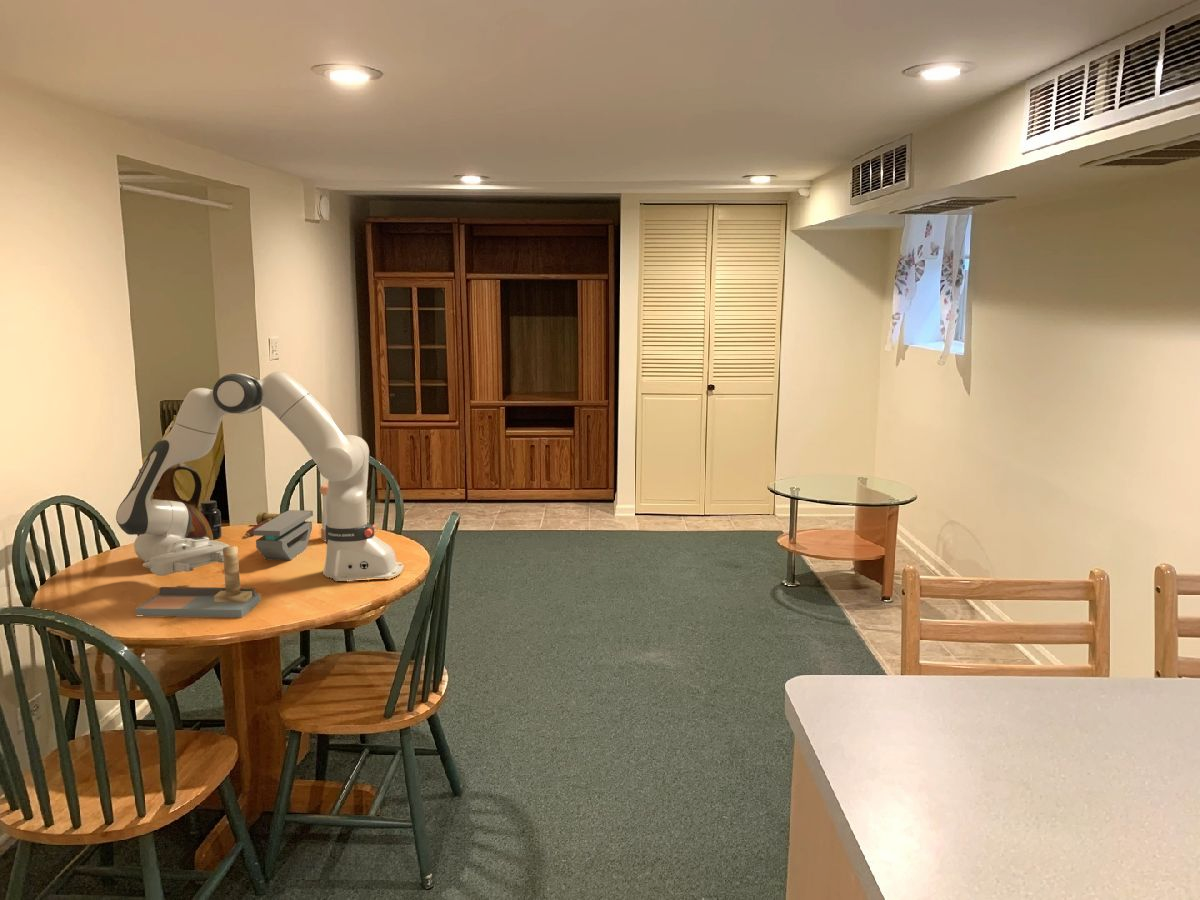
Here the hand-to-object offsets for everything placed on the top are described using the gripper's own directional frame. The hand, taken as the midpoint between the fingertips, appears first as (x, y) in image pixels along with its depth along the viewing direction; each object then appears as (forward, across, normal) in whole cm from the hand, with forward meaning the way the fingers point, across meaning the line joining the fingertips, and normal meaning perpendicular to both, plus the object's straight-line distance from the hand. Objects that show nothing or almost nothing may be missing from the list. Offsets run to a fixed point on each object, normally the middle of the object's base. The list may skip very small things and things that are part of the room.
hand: (207, 563), depth 227 cm
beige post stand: (+10, 0, +8) cm, 13 cm away
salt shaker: (-21, +57, +10) cm, 61 cm away
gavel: (-48, +49, +10) cm, 70 cm away
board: (+5, -6, +9) cm, 12 cm away
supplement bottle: (-54, +34, +10) cm, 65 cm away
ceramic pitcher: (-39, +14, +10) cm, 43 cm away
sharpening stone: (-18, +37, +10) cm, 42 cm away
